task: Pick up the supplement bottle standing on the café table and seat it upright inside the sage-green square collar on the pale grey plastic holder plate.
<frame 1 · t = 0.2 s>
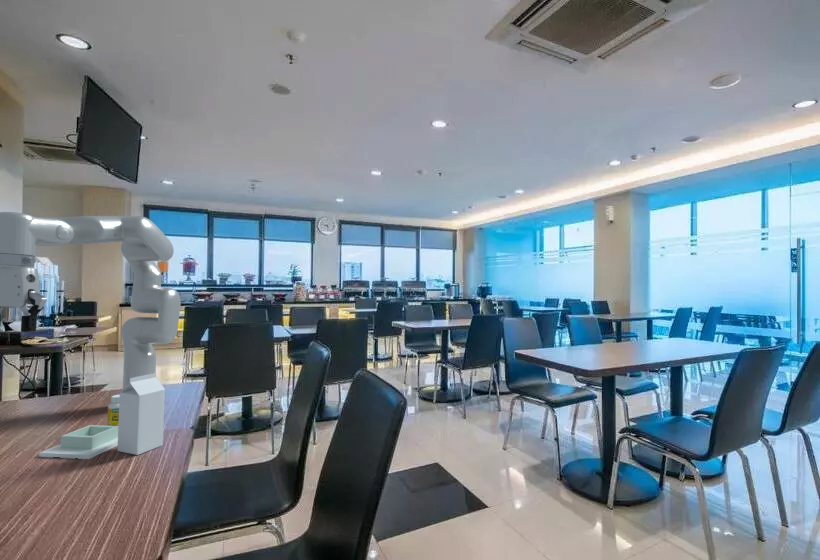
hand: (10, 331, 98), 31 cm above the table, tool pointing down, fingers open, 9 cm apart
milk carton: (140, 449, 103), on the table
cup holder: (90, 446, 104), on the table
supplement bottle: (118, 428, 119), on the table
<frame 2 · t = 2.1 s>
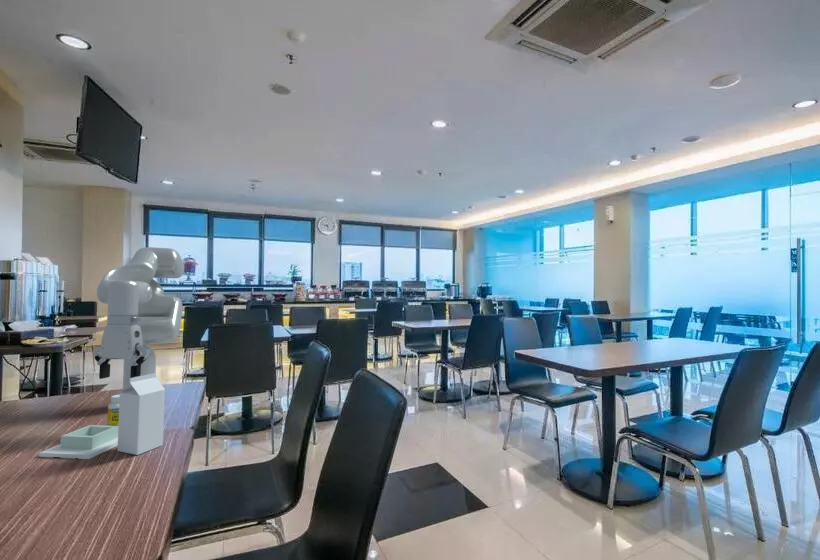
hand: (119, 378, 118), 15 cm above the table, tool pointing down, fingers open, 9 cm apart
nothing on the table moved.
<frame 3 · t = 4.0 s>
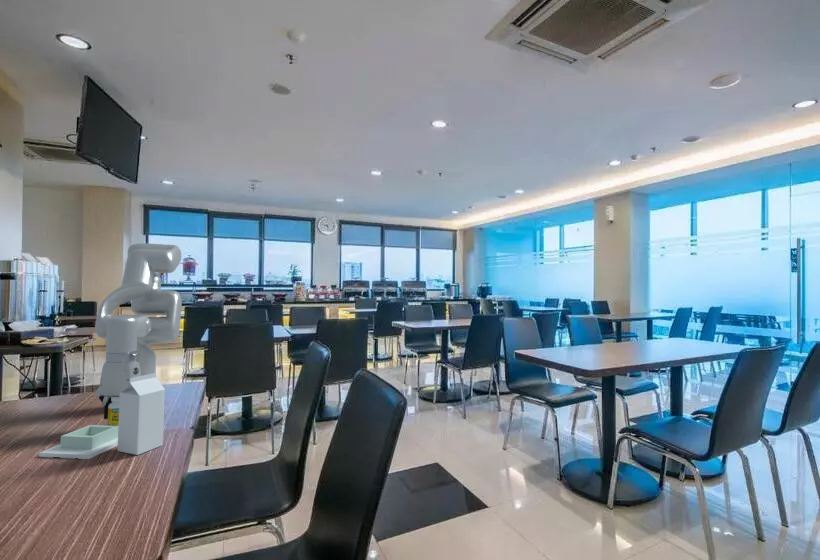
hand: (118, 417, 119), 3 cm above the table, tool pointing down, fingers closed on supplement bottle, 5 cm apart
supplement bottle: (118, 428, 119), on the table, touching gripper
everything else where it was.
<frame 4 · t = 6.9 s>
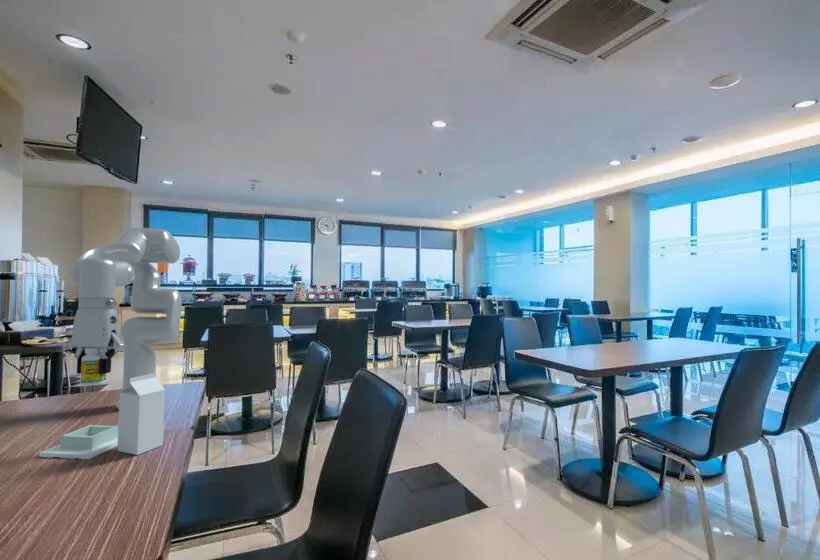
hand: (93, 372, 105), 19 cm above the table, tool pointing down, fingers closed on supplement bottle, 5 cm apart
supplement bottle: (93, 384, 105), point 16 cm above the table, touching gripper
everything else where it was.
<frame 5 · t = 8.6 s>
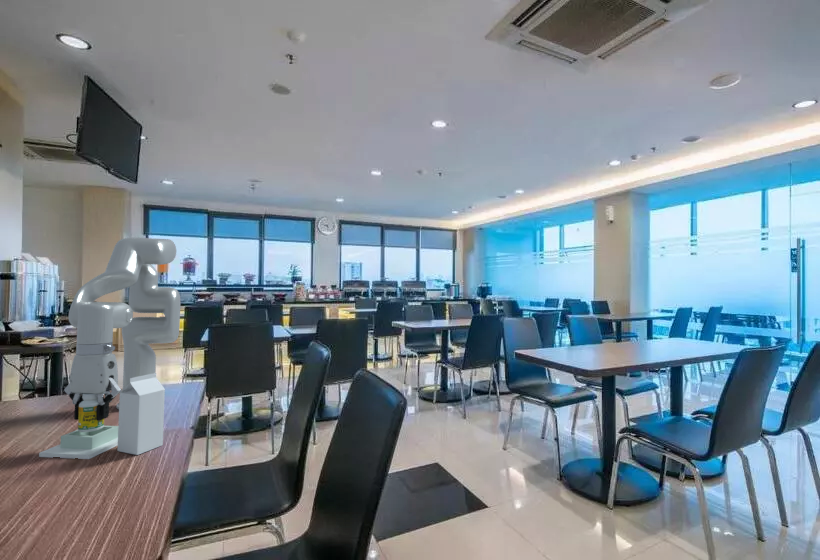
hand: (91, 417, 105), 7 cm above the table, tool pointing down, fingers closed on supplement bottle, 5 cm apart
supplement bottle: (90, 430, 104), point 4 cm above the table, touching gripper
everything else where it was.
when the fingers open (5 cm above the table, at t = 9.8 s): supplement bottle drops 1 cm, resting on cup holder.
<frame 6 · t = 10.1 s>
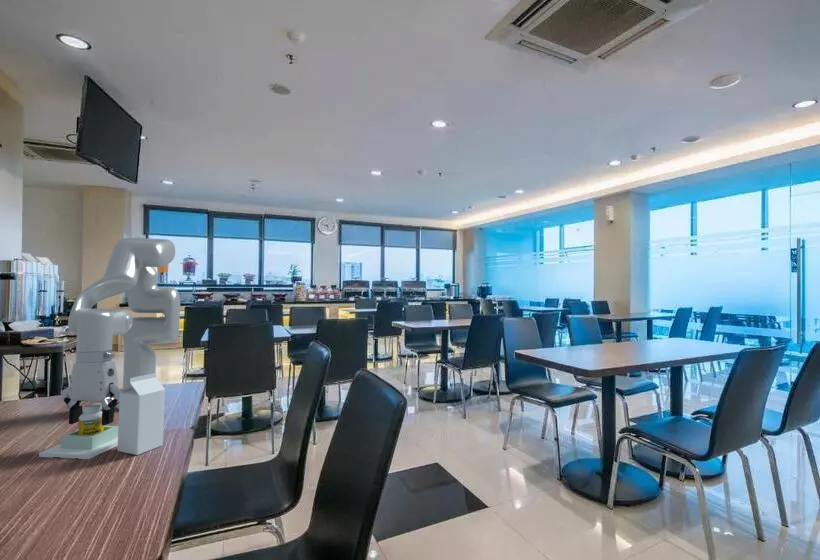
hand: (91, 422, 105), 6 cm above the table, tool pointing down, fingers open, 8 cm apart
supplement bottle: (90, 442, 105), point 1 cm above the table, touching cup holder
everything else where it was.
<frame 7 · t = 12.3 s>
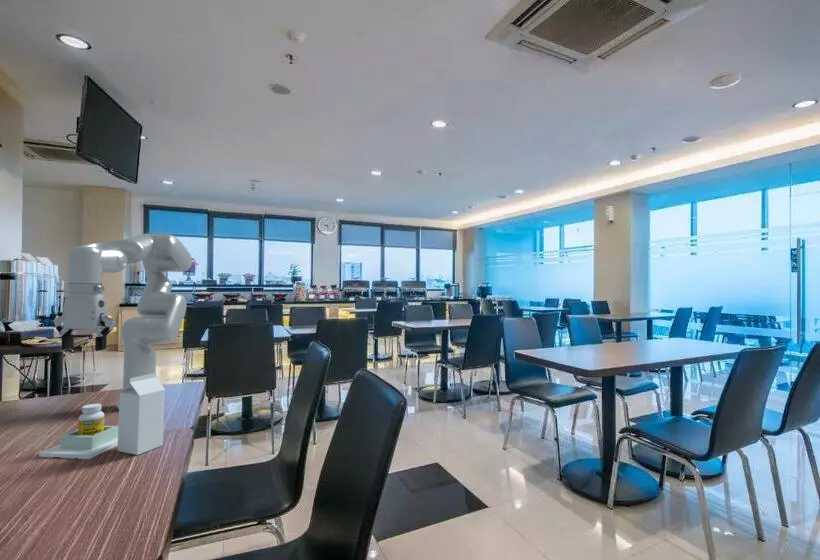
hand: (84, 349, 113), 24 cm above the table, tool pointing down, fingers open, 9 cm apart
nothing on the table moved.
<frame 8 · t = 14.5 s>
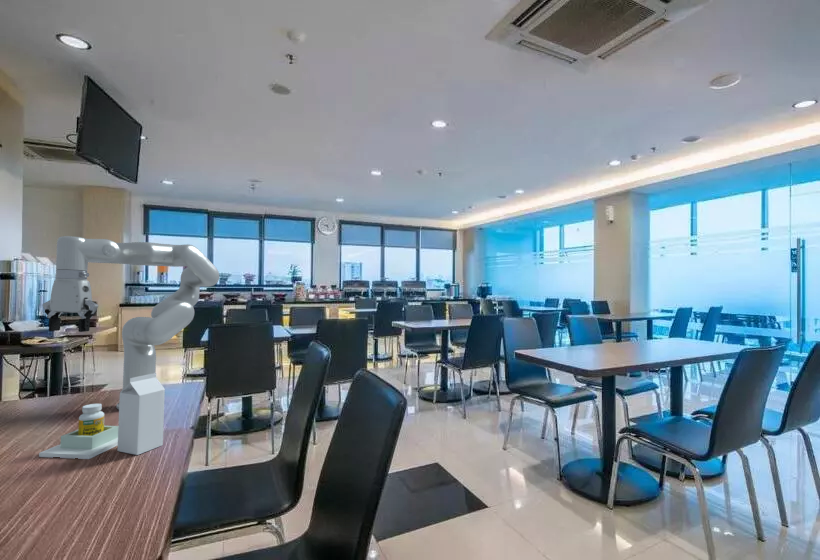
hand: (69, 331, 123), 28 cm above the table, tool pointing down, fingers open, 9 cm apart
nothing on the table moved.
at the end: supplement bottle 0.2 cm off-centre on the cup holder, point 0.8 cm above the cup holder's base; supplement bottle tilted 0°; the gripper is holding nothing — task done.
